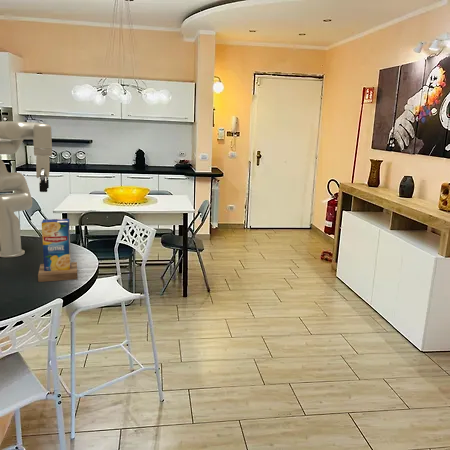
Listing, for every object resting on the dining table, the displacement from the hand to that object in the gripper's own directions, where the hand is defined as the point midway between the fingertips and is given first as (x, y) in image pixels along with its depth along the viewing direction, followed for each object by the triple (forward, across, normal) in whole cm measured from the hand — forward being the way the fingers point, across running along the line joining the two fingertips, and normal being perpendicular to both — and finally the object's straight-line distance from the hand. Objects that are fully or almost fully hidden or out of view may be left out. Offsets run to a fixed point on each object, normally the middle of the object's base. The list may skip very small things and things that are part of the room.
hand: (44, 190), depth 200 cm
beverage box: (+34, +12, +5) cm, 36 cm away
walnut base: (+37, +12, +6) cm, 39 cm away
